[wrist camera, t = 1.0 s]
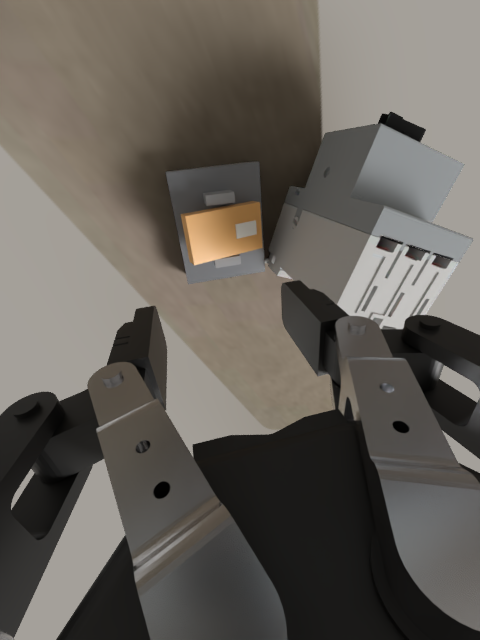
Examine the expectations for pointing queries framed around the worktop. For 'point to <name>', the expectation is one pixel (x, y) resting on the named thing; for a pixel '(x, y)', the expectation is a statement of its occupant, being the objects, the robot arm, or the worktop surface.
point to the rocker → (222, 231)
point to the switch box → (212, 192)
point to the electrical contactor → (371, 223)
